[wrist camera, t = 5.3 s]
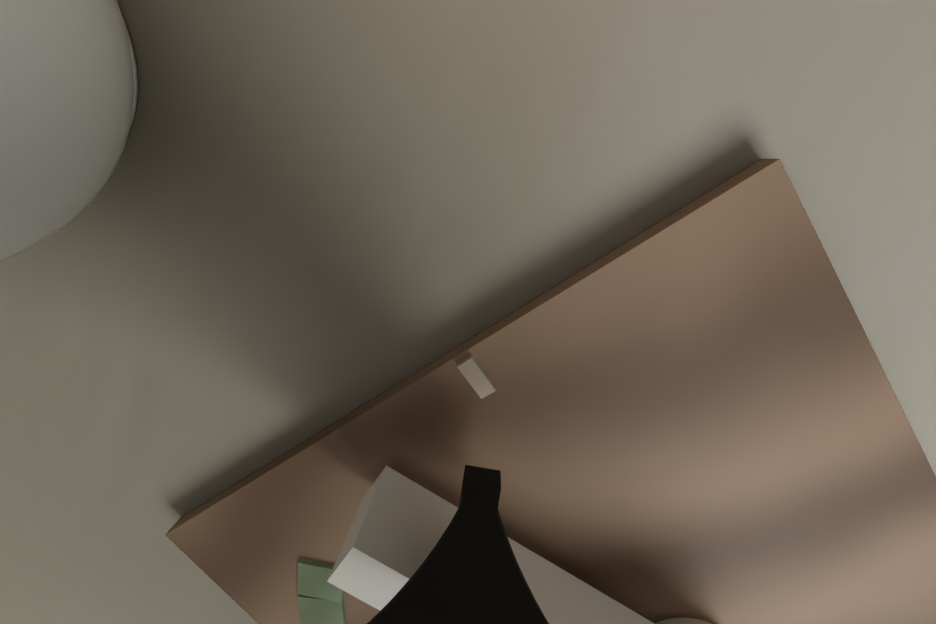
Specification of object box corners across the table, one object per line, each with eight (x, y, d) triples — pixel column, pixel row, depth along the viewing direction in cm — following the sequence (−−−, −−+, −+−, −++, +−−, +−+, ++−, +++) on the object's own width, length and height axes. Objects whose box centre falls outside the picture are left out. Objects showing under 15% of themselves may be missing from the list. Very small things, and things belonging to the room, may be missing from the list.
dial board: (996, 627, 15) (1029, 659, 14) (457, 789, 21) (454, 820, 20) (761, 158, 11) (784, 158, 10) (178, 519, 17) (158, 540, 16)
